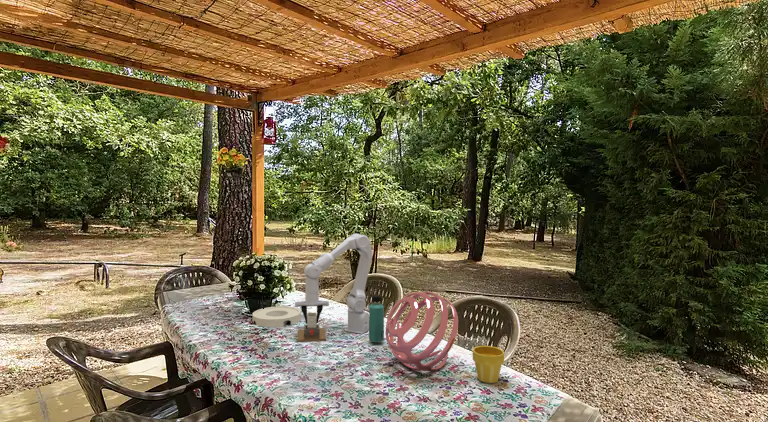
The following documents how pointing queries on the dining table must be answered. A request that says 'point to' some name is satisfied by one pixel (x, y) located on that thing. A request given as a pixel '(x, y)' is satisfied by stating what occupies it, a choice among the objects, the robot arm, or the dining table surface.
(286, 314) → the ashtray
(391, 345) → the spiral basket
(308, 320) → the grayish brown rectangular block
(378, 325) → the beverage bottle
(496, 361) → the plant pot
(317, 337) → the stand base
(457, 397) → the dining table surface
